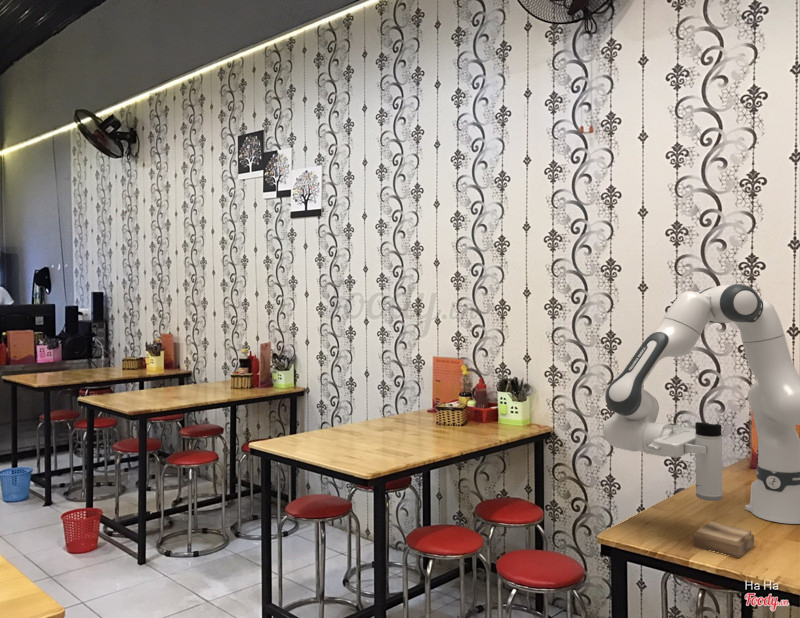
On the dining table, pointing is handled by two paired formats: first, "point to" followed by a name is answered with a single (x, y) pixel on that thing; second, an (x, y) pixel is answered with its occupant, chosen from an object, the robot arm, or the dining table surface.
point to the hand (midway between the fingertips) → (712, 447)
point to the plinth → (724, 539)
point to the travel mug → (709, 462)
